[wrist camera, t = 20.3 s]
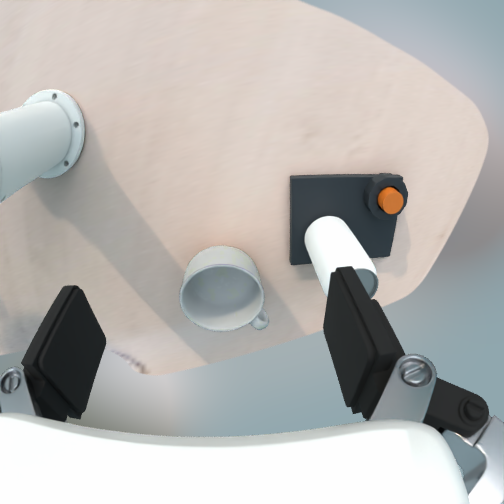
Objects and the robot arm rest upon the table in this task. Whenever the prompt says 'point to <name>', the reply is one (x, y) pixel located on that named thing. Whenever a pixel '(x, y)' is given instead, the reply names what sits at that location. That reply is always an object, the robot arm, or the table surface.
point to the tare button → (390, 200)
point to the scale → (343, 209)
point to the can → (338, 252)
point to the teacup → (223, 290)
